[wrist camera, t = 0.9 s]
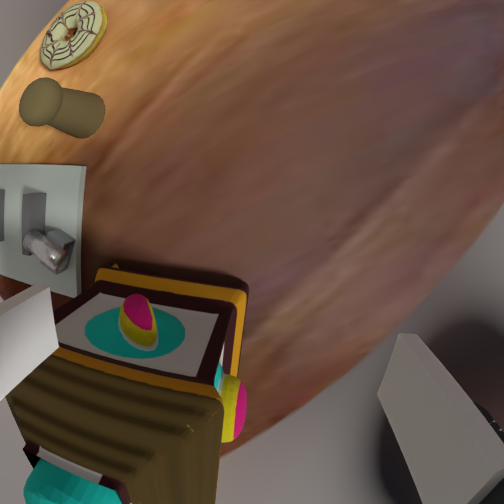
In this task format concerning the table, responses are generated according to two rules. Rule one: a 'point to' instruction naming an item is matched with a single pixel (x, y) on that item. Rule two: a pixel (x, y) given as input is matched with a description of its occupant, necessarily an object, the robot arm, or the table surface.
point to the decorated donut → (82, 44)
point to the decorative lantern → (135, 392)
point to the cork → (61, 108)
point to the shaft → (51, 248)
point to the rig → (40, 220)
